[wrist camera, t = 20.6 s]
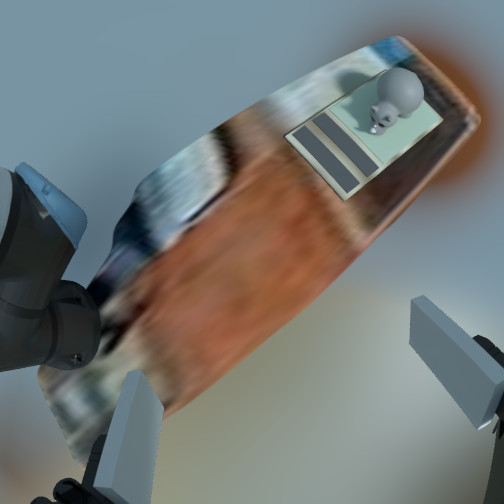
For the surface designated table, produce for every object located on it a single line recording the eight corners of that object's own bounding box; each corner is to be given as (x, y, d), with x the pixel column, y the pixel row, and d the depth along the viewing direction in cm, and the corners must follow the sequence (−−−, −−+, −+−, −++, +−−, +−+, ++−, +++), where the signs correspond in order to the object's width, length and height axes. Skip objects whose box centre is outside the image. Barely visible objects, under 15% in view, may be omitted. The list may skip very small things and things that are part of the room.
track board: (343, 201, 42) (344, 200, 42) (285, 138, 45) (284, 136, 45) (442, 121, 42) (443, 119, 41) (388, 70, 45) (388, 68, 44)
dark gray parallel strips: (347, 193, 42) (347, 193, 42) (292, 134, 44) (292, 134, 44) (379, 168, 42) (379, 167, 42) (324, 112, 44) (324, 112, 44)
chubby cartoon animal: (353, 125, 46) (346, 109, 38) (393, 74, 42) (392, 51, 34) (388, 152, 44) (389, 141, 37) (428, 99, 40) (435, 79, 32)
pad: (383, 164, 42) (383, 163, 42) (328, 109, 44) (329, 109, 44) (439, 118, 42) (440, 118, 41) (388, 71, 44) (389, 70, 44)
